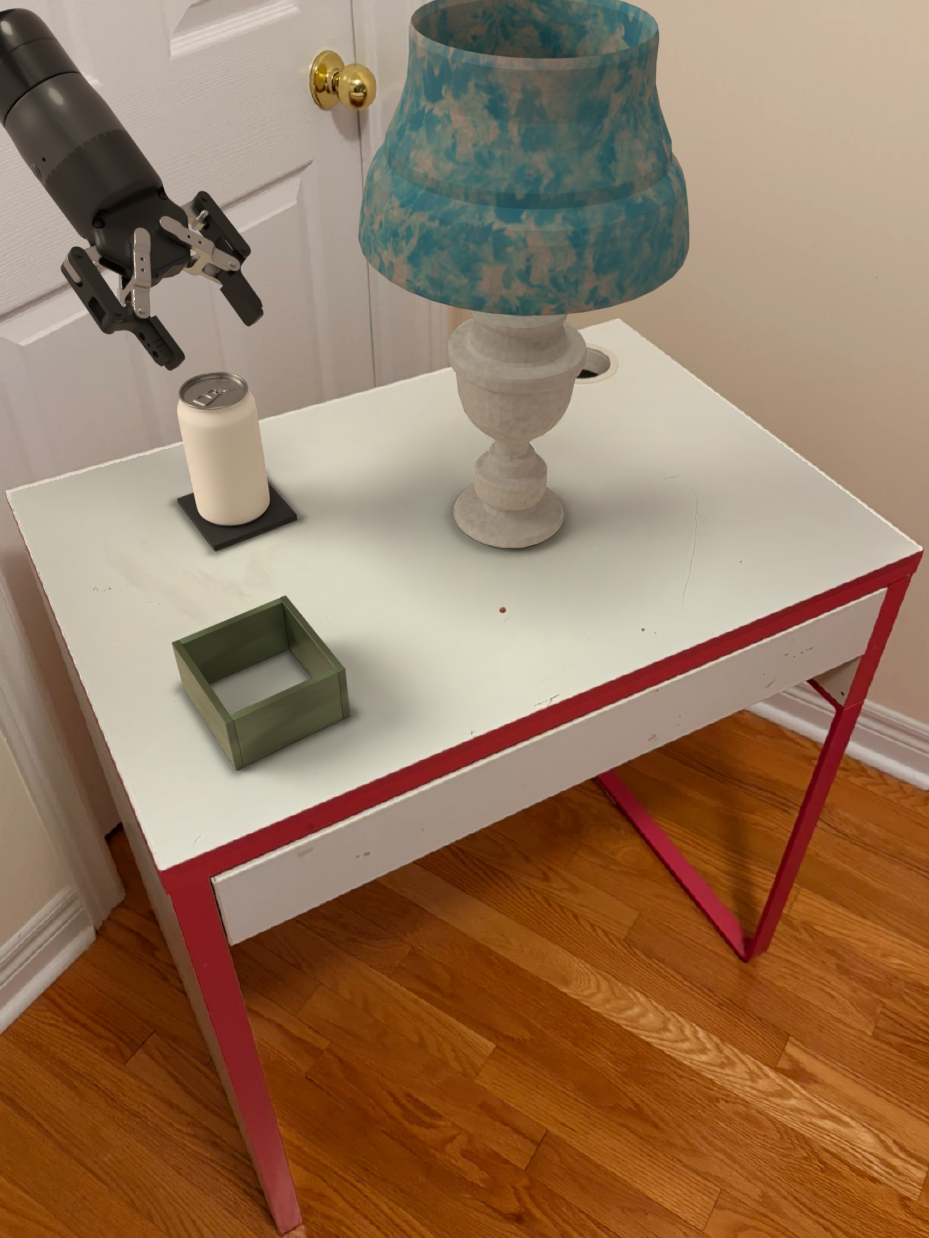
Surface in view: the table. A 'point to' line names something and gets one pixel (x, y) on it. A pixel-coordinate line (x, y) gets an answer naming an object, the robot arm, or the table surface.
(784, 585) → the table surface
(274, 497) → the mat
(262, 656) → the caddy
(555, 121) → the table lamp
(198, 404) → the can
